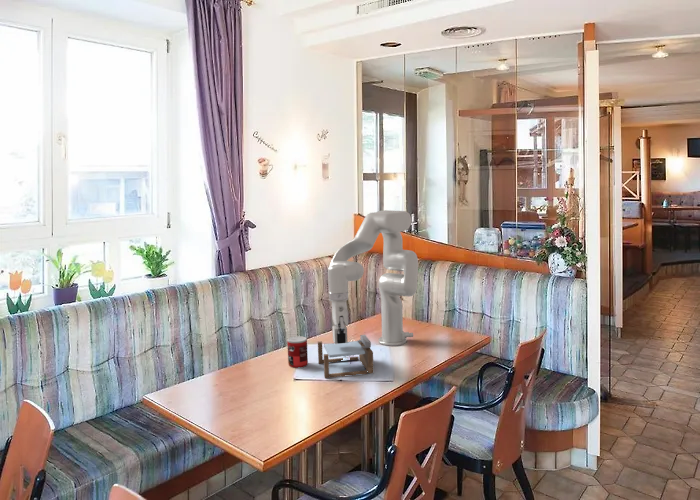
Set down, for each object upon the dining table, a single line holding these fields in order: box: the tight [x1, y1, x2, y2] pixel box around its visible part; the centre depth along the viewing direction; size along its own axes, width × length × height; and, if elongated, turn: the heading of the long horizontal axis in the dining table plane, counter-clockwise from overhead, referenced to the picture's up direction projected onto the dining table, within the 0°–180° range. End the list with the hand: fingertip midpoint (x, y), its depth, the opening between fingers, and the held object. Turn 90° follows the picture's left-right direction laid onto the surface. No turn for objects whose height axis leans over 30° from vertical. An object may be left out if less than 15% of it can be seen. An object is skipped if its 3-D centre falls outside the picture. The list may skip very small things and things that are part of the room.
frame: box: [317, 341, 374, 379], centre depth 231 cm, size 19×18×9 cm
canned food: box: [286, 335, 309, 369], centre depth 237 cm, size 8×8×11 cm
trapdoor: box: [323, 334, 372, 359], centre depth 231 cm, size 17×14×4 cm
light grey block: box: [331, 324, 349, 344], centre depth 230 cm, size 5×5×6 cm
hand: (340, 340), depth 230 cm, fingers closed on light grey block, 5 cm apart
